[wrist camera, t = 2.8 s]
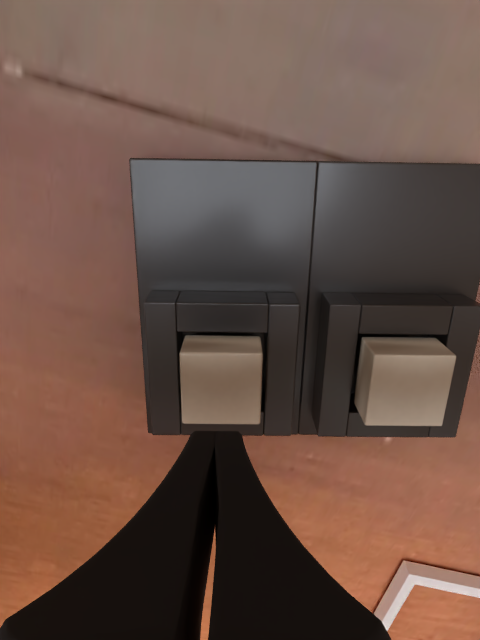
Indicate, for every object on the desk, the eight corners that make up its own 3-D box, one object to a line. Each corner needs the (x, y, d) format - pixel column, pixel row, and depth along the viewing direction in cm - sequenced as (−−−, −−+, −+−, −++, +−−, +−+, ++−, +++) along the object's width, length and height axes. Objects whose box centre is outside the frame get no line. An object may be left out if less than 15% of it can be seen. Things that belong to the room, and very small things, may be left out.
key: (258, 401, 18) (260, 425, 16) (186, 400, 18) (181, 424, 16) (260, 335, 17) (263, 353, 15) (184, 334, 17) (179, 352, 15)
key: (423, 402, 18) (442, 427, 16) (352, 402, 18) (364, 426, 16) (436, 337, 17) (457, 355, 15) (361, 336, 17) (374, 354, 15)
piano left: (291, 407, 22) (303, 457, 18) (156, 406, 22) (140, 456, 18) (308, 161, 18) (327, 160, 14) (142, 158, 18) (117, 157, 14)
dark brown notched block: (425, 408, 22) (464, 458, 19) (291, 407, 22) (303, 457, 18) (472, 164, 18) (533, 164, 14) (308, 161, 18) (327, 160, 14)
